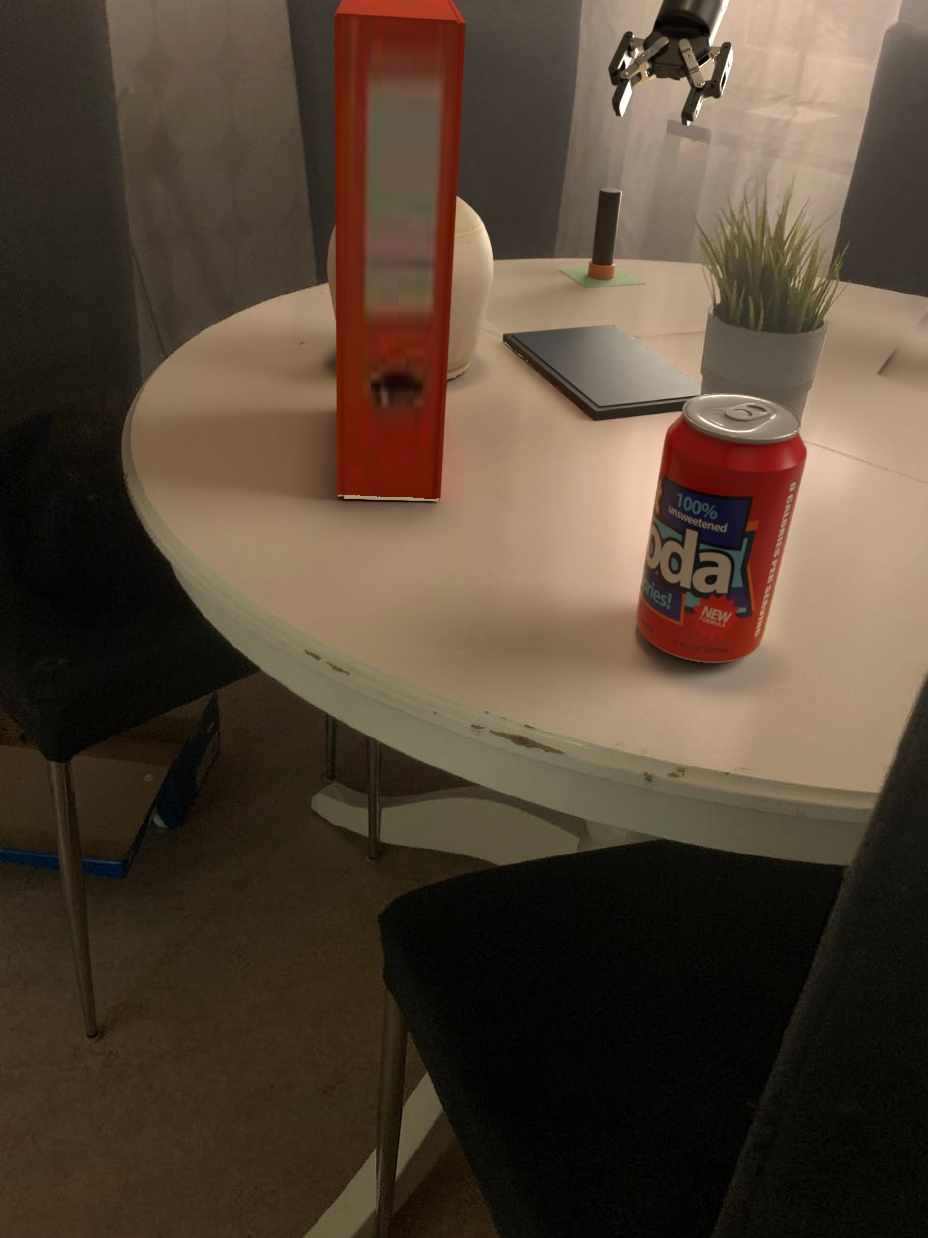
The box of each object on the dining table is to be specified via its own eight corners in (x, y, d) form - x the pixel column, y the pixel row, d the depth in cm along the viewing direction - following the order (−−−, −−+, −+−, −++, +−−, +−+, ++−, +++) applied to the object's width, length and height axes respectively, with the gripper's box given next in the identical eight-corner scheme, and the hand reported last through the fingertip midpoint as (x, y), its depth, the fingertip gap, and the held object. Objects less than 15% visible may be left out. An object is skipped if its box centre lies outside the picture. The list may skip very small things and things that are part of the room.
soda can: (786, 649, 67) (844, 424, 59) (697, 689, 63) (746, 454, 55) (695, 591, 72) (737, 377, 64) (608, 625, 68) (640, 402, 60)
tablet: (613, 332, 116) (614, 323, 116) (719, 405, 100) (721, 395, 100) (502, 341, 112) (502, 332, 111) (594, 420, 96) (596, 410, 95)
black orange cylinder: (606, 271, 133) (616, 186, 128) (618, 278, 131) (629, 192, 125) (583, 272, 132) (592, 187, 127) (595, 280, 130) (605, 193, 124)
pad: (613, 269, 136) (614, 264, 136) (644, 288, 130) (645, 283, 130) (556, 273, 134) (557, 268, 133) (585, 292, 128) (586, 287, 127)
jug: (435, 406, 97) (446, 100, 83) (296, 368, 103) (285, 77, 89) (514, 358, 108) (535, 81, 94) (385, 326, 114) (387, 62, 100)
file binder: (436, 411, 96) (452, -3, 78) (444, 502, 81) (466, 19, 64) (345, 409, 95) (340, -9, 77) (337, 500, 81) (328, 12, 63)
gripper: (635, -26, 132) (590, 87, 130) (750, -16, 127) (704, 102, 125) (644, 20, 139) (601, 129, 137) (752, 31, 134) (709, 144, 132)
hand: (650, 116), depth 131 cm, fingers open, 8 cm apart
